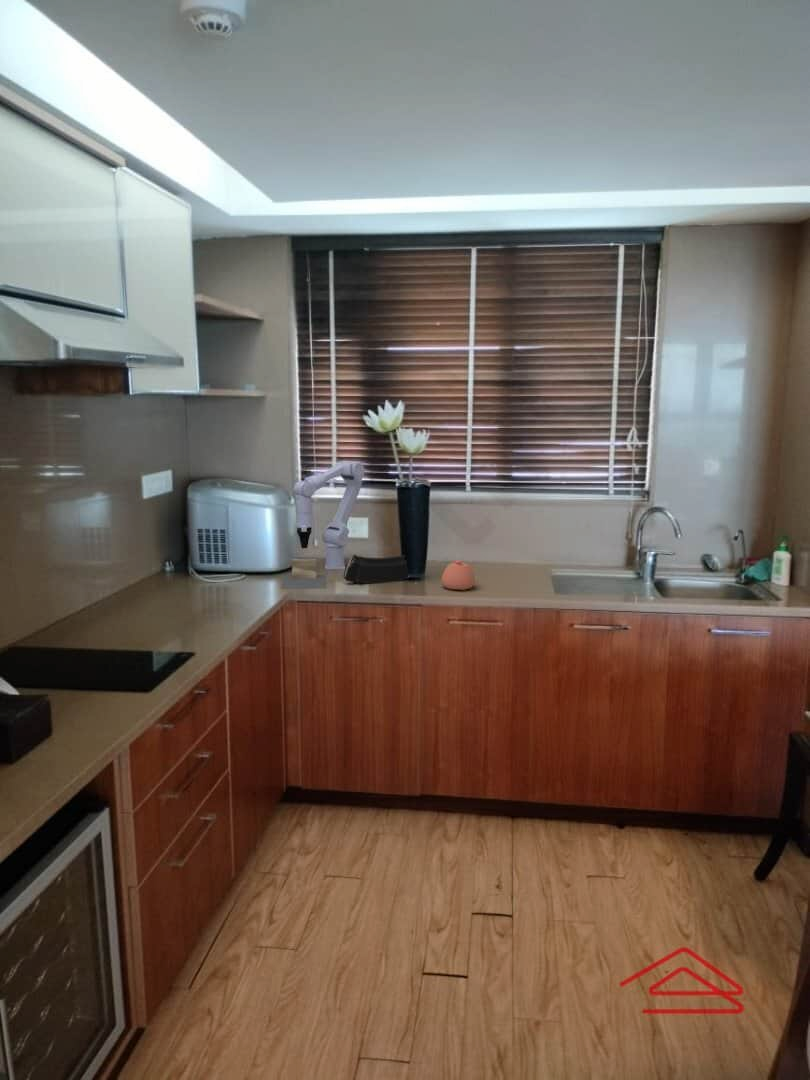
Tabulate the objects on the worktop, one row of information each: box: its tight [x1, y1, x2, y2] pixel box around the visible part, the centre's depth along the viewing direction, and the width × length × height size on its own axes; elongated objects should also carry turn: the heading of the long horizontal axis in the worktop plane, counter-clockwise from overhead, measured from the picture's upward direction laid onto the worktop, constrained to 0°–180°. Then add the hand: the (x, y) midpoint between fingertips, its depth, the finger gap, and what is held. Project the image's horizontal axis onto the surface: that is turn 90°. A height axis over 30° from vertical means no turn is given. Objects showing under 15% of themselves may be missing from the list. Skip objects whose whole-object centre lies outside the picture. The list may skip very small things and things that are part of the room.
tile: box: [291, 558, 317, 579], centre depth 282 cm, size 2×9×7 cm, turn 97°
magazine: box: [342, 554, 408, 585], centre depth 279 cm, size 17×3×30 cm
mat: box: [280, 574, 327, 590], centre depth 277 cm, size 22×16×1 cm
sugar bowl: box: [441, 559, 476, 591], centre depth 271 cm, size 12×14×10 cm
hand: (304, 547), depth 290 cm, fingers open, 4 cm apart
